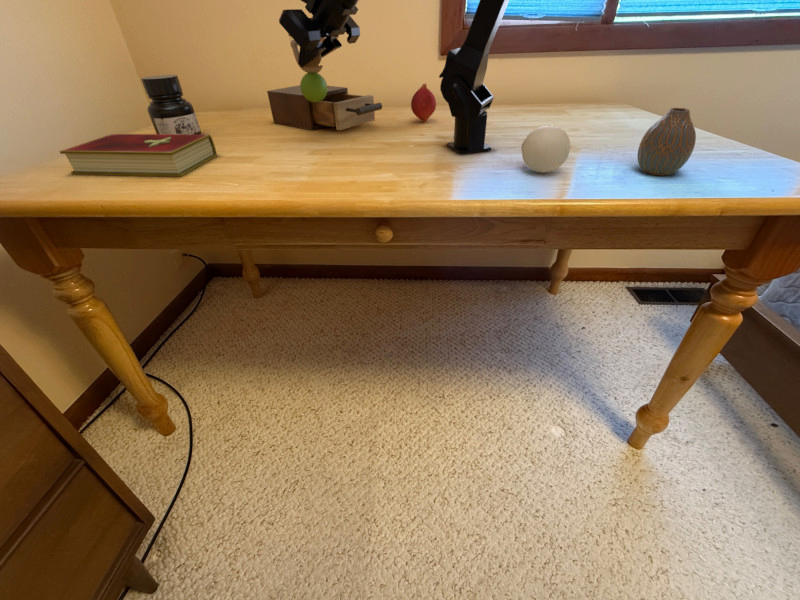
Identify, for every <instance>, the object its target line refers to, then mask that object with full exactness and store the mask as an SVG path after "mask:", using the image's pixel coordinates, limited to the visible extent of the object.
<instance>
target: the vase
mask: <svg viewBox="0 0 800 600" xmlns="http://www.w3.org/2000/svg"><path fill="white" fill-rule="evenodd" d="M696 139H697V134H696V129H695V126H694V124H693V122H692V119H691V111H690V109H688V108H684V107H671V108H669V109H668V111H667V112H666V113H665V114H664V115H663V116H662V117H661V118H660V119H659V120H657V121H655V123H653V124H652V125H651V126H650V127H649V128H648V129H647V131H646V132H645V133H644V135H643V136H642V138H641V140H640V143H639V146H638V149H637V164H638V166H639V168H640V169H641V171H642V172H644V173H646V174H649V175H653V176H670V175H672V174H674V173H676V172H677V171H679V170H680V169H681V168H682V167H684V165H685V164H687V162H688V161H689V159H690V158H691V156H692V154H693V152H694V149H695V146H696Z"/></svg>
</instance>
